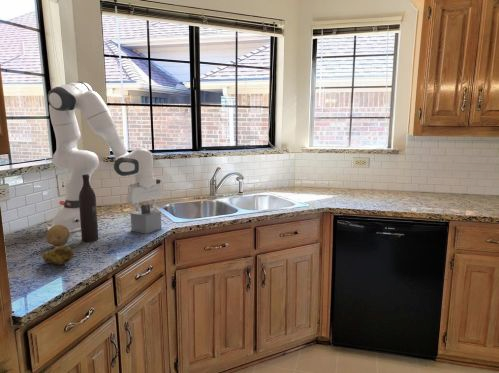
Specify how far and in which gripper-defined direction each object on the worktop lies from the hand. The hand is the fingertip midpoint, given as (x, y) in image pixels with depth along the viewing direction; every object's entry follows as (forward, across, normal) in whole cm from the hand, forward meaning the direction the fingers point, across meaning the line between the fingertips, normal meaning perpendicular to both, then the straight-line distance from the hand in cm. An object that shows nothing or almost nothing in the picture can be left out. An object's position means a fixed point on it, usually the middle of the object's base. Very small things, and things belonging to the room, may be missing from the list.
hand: (145, 209), depth 185 cm
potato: (+11, -50, -6) cm, 52 cm away
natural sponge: (+11, -39, +12) cm, 42 cm away
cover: (+10, 0, 0) cm, 10 cm away
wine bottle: (+11, -25, +10) cm, 29 cm away
